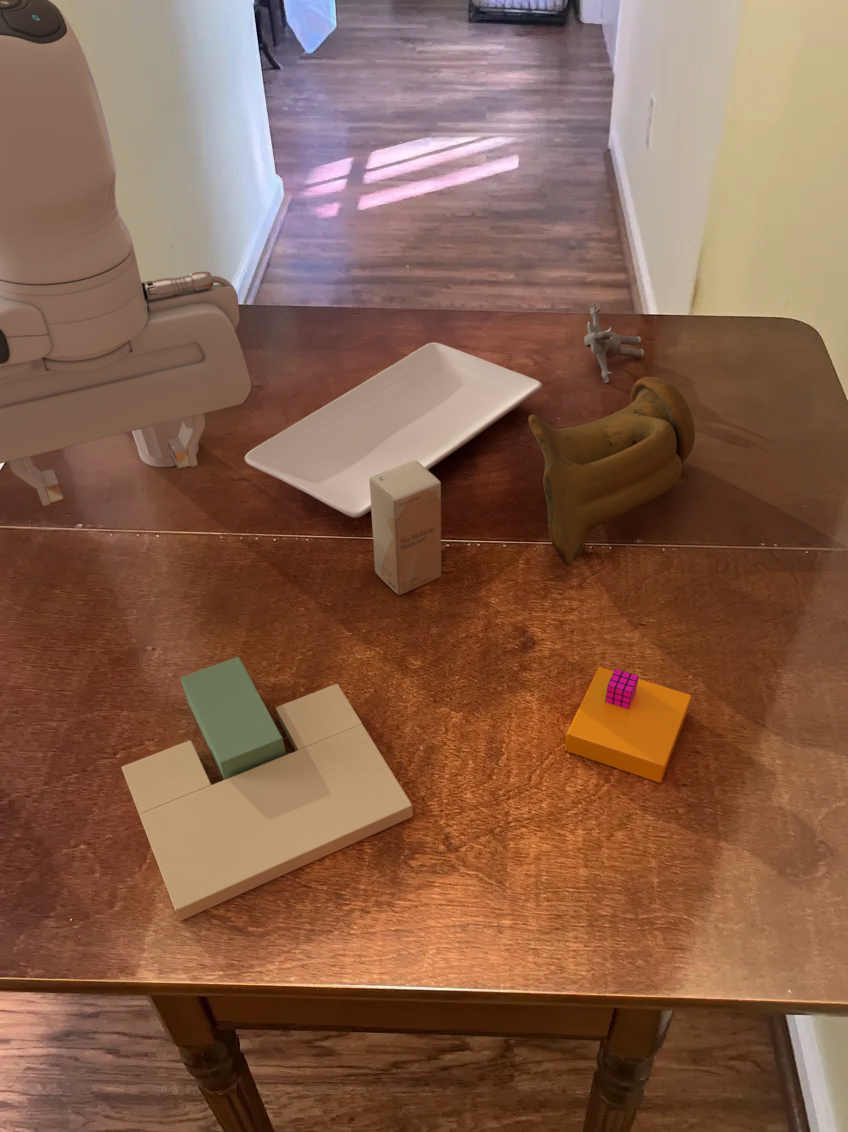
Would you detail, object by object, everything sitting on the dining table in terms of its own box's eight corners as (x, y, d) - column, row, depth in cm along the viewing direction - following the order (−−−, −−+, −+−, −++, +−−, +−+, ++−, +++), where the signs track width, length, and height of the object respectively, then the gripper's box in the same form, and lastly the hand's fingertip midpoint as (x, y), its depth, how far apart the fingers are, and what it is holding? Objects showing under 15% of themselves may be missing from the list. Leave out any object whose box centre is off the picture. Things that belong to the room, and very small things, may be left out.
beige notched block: (179, 921, 68) (175, 910, 67) (125, 778, 76) (121, 766, 75) (413, 816, 74) (412, 805, 73) (339, 695, 83) (337, 683, 82)
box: (398, 597, 91) (391, 501, 83) (373, 572, 94) (365, 477, 86) (444, 575, 93) (442, 480, 86) (419, 551, 96) (415, 457, 88)
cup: (118, 465, 106) (87, 364, 97) (152, 425, 111) (126, 327, 103) (186, 476, 104) (161, 375, 96) (218, 435, 110) (197, 336, 101)
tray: (243, 481, 104) (237, 453, 101) (433, 362, 121) (432, 336, 119) (360, 544, 97) (357, 516, 94) (545, 409, 114) (546, 382, 112)
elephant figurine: (662, 377, 120) (608, 371, 114) (628, 395, 125) (575, 390, 119) (647, 299, 121) (593, 290, 115) (614, 320, 125) (561, 312, 120)
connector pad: (287, 762, 78) (282, 738, 76) (227, 787, 76) (220, 763, 74) (244, 680, 84) (238, 655, 82) (187, 701, 82) (179, 677, 80)
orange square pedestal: (687, 712, 82) (696, 677, 79) (660, 783, 76) (668, 749, 73) (596, 683, 84) (601, 648, 81) (564, 751, 79) (568, 716, 76)
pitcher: (449, 418, 99) (631, 336, 104) (484, 528, 106) (654, 447, 111) (531, 463, 84) (740, 366, 89) (566, 589, 91) (758, 492, 96)
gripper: (217, 246, 66) (245, 423, 76) (-117, 308, 59) (-37, 495, 68) (249, 286, 62) (274, 466, 72) (-103, 357, 55) (-22, 547, 65)
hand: (120, 481), depth 70 cm, fingers open, 8 cm apart
